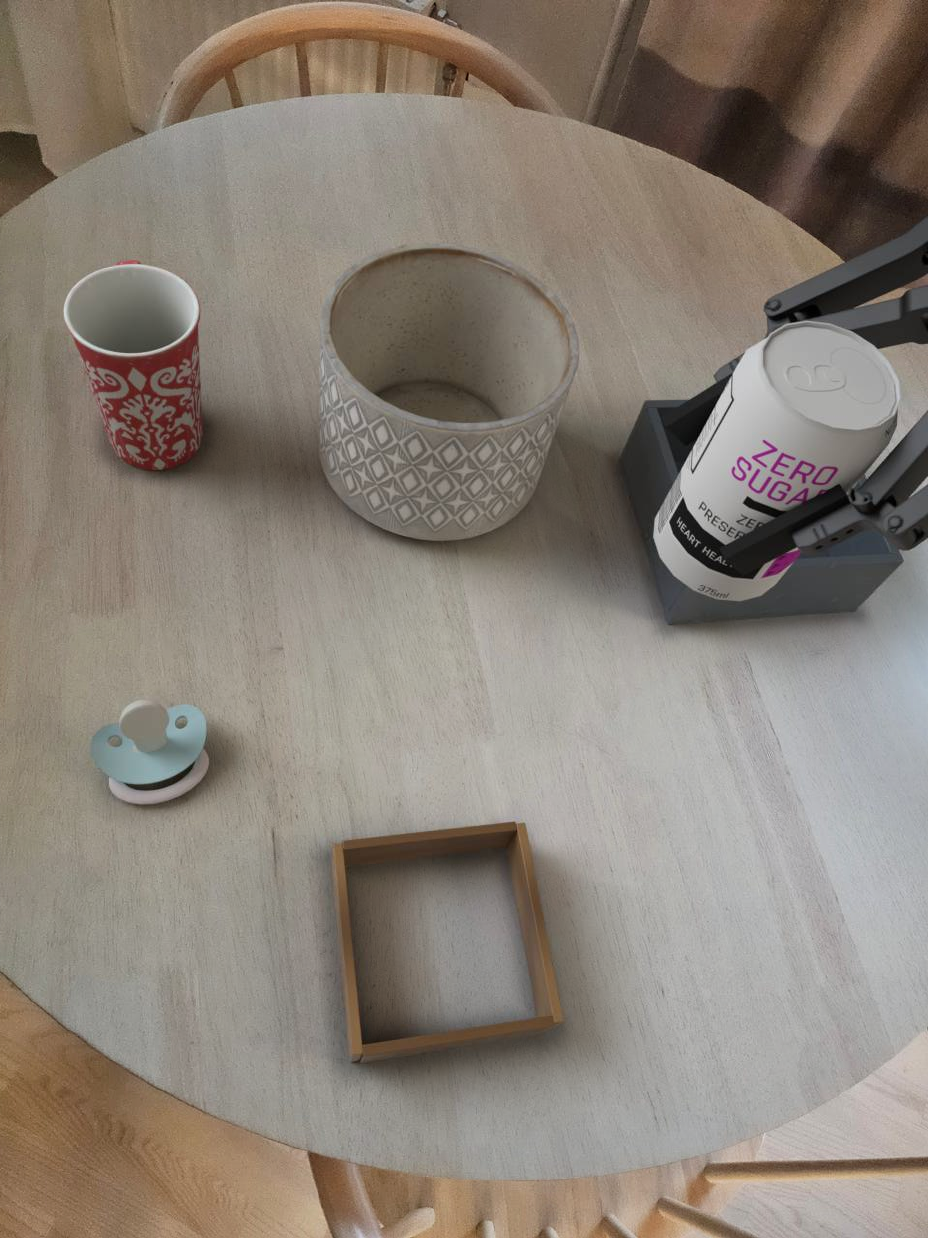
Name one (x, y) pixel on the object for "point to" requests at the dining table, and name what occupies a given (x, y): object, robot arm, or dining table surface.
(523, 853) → the box
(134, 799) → the pacifier
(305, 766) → the dining table surface
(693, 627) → the dining table surface
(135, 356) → the mug
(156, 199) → the dining table surface
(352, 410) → the planter
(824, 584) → the grey storage bin
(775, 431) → the supplement can
